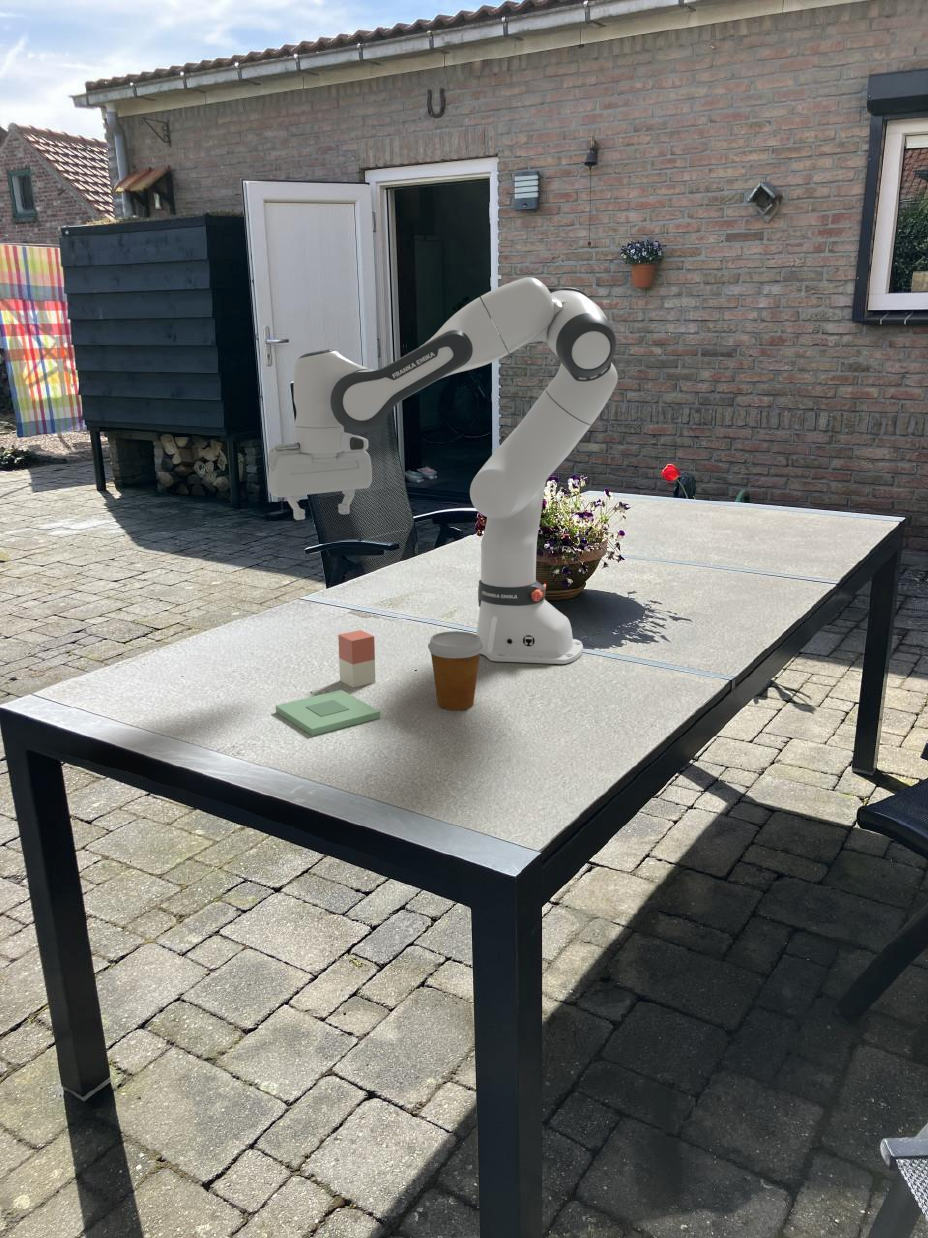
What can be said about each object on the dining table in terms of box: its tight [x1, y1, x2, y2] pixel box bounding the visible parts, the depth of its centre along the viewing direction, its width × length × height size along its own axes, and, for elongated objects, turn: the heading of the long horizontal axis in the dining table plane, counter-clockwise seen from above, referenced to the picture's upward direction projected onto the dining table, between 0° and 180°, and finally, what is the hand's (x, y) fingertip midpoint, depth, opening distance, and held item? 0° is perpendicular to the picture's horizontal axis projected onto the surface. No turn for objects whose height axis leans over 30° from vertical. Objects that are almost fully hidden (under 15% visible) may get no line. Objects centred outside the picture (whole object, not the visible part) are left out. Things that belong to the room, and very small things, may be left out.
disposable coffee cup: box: [427, 630, 483, 711], centre depth 179 cm, size 10×10×12 cm
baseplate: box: [275, 689, 381, 737], centre depth 175 cm, size 13×13×1 cm
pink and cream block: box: [337, 629, 376, 689], centre depth 190 cm, size 5×5×9 cm
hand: (322, 516), depth 191 cm, fingers open, 8 cm apart
